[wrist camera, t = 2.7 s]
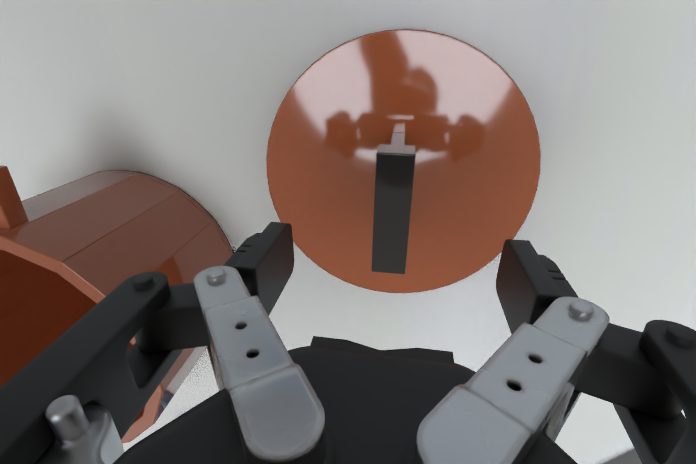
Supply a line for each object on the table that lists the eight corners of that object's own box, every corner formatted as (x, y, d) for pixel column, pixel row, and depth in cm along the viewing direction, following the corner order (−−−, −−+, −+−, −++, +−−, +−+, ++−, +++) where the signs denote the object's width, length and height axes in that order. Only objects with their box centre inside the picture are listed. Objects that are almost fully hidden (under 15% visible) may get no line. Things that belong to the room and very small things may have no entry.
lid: (281, 273, 27) (247, 333, 22) (261, 29, 20) (202, 21, 15) (505, 293, 25) (533, 365, 20) (566, 30, 18) (639, 20, 13)
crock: (100, 349, 34) (-10, 454, 25) (16, 126, 25) (-197, 166, 16) (251, 368, 32) (191, 489, 23) (218, 134, 23) (101, 184, 15)
